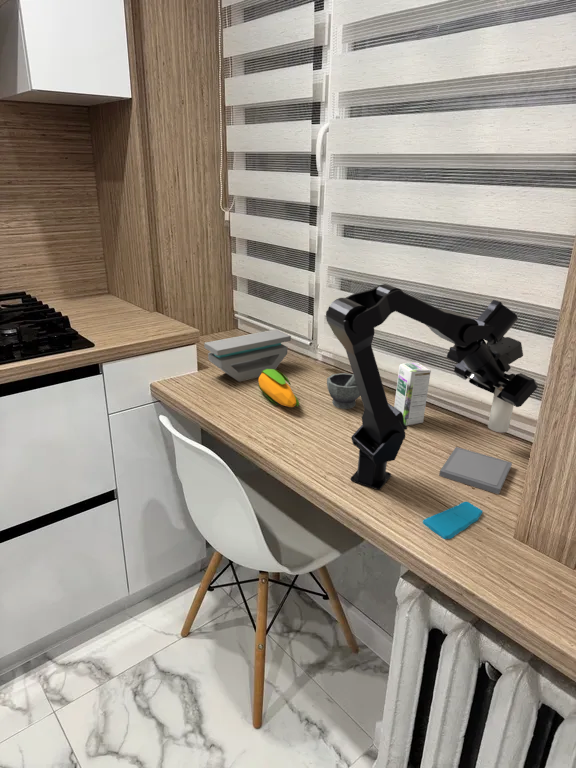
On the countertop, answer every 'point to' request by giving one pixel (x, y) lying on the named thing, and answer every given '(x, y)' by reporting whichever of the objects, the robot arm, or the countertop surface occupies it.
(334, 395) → the mortar and pestle
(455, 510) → the sponge
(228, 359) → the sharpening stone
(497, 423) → the spice jar
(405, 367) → the syrup box
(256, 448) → the countertop surface
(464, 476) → the slate trivet
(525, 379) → the robot arm
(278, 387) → the corn
